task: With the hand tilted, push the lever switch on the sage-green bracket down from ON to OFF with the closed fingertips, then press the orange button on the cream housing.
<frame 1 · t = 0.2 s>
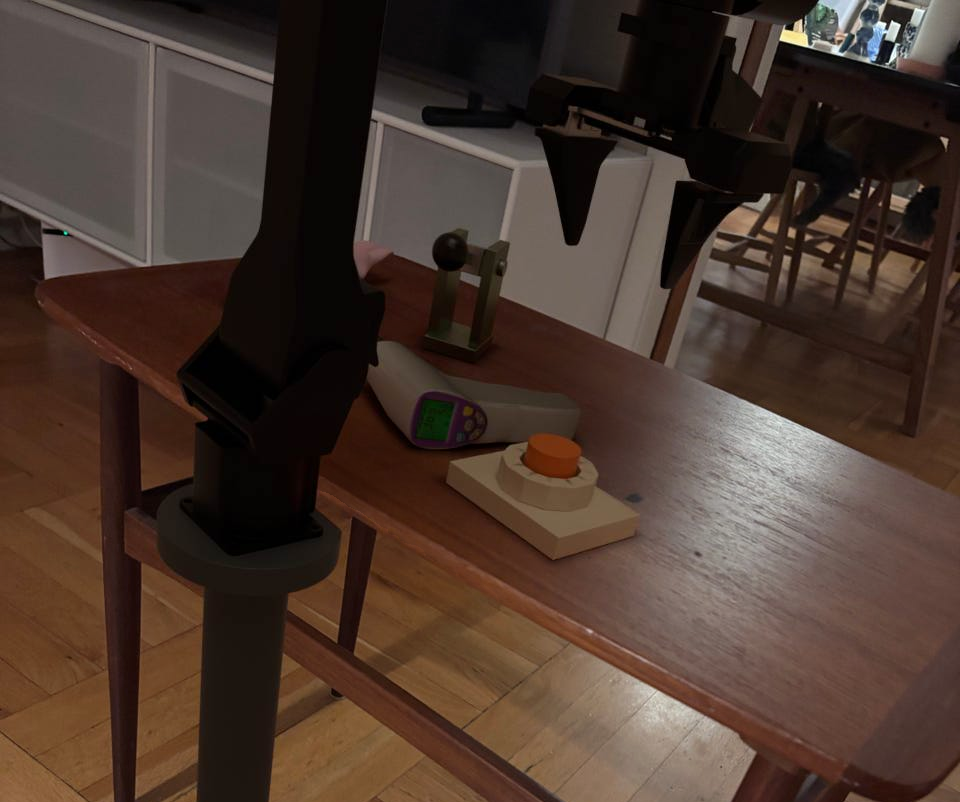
hand: (617, 265, 69), 14 cm above the table, tool pointing down, fingers open, 9 cm apart
switch lever: (462, 256, 83), point 9 cm above the table, hinge at 15.0°
smartphone: (308, 328, 88), on the table
infrared thermometer: (464, 419, 79), on the table
button: (552, 457, 65), point 4 cm above the table, slide at 0.1 cm
switch bracket: (457, 347, 92), on the table
button box: (538, 509, 68), on the table
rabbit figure: (337, 287, 100), on the table
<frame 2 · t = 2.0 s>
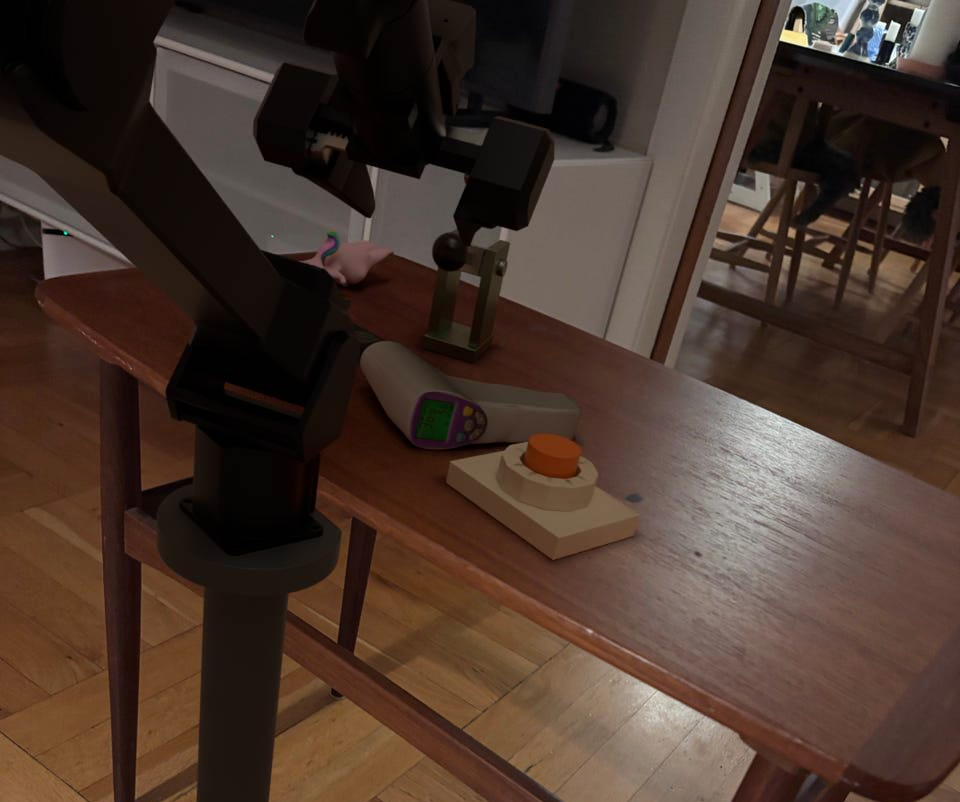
hand: (420, 226, 70), 14 cm above the table, tool tilted 45°, fingers open, 7 cm apart
nothing on the table moved.
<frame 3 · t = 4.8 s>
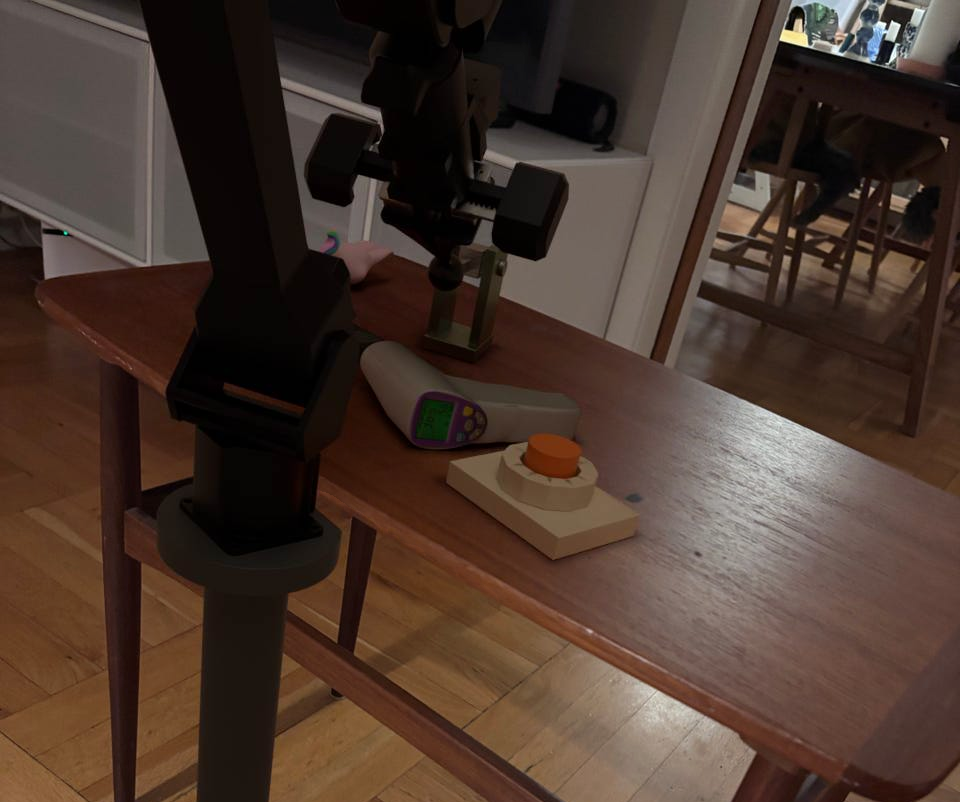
hand: (446, 256, 79), 10 cm above the table, tool tilted 45°, fingers closed, pressing on switch lever
switch lever: (460, 265, 84), point 8 cm above the table, hinge at 3.5°, touching gripper
everything else where it was.
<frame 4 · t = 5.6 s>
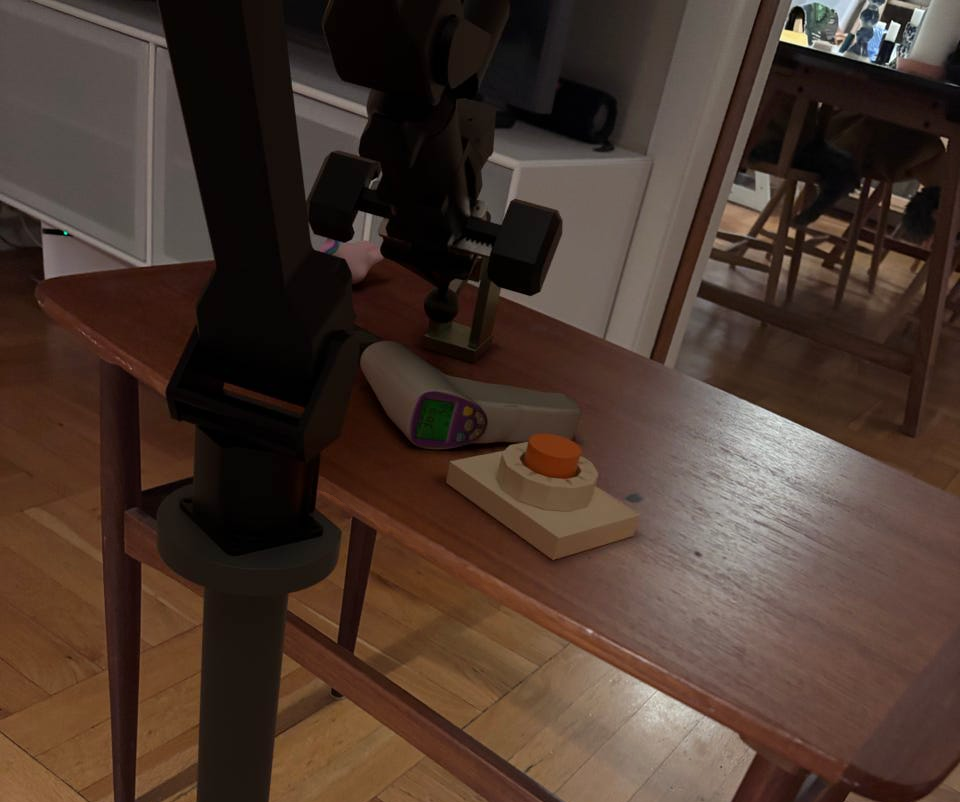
hand: (445, 284, 81), 7 cm above the table, tool tilted 45°, fingers closed, pressing on switch lever
switch lever: (457, 282, 85), point 7 cm above the table, hinge at -16.8°, touching gripper
everything else where it was.
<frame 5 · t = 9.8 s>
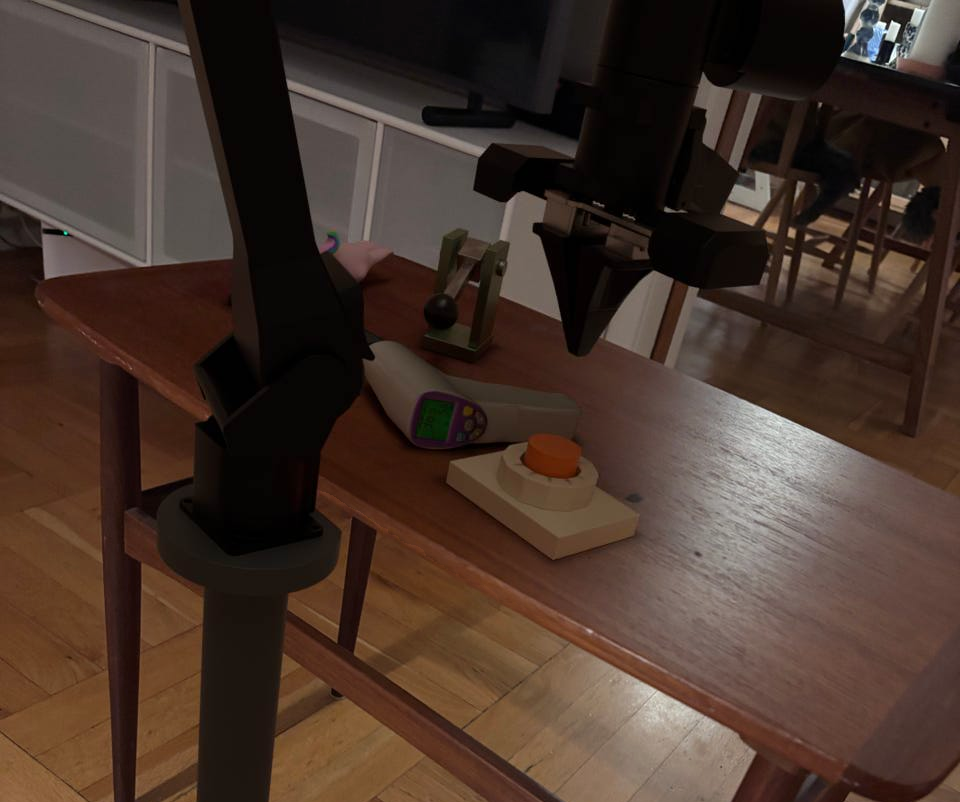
hand: (577, 354, 62), 11 cm above the table, tool pointing down, fingers closed
switch lever: (457, 285, 85), point 7 cm above the table, hinge at -21.4°
everything else where it was.
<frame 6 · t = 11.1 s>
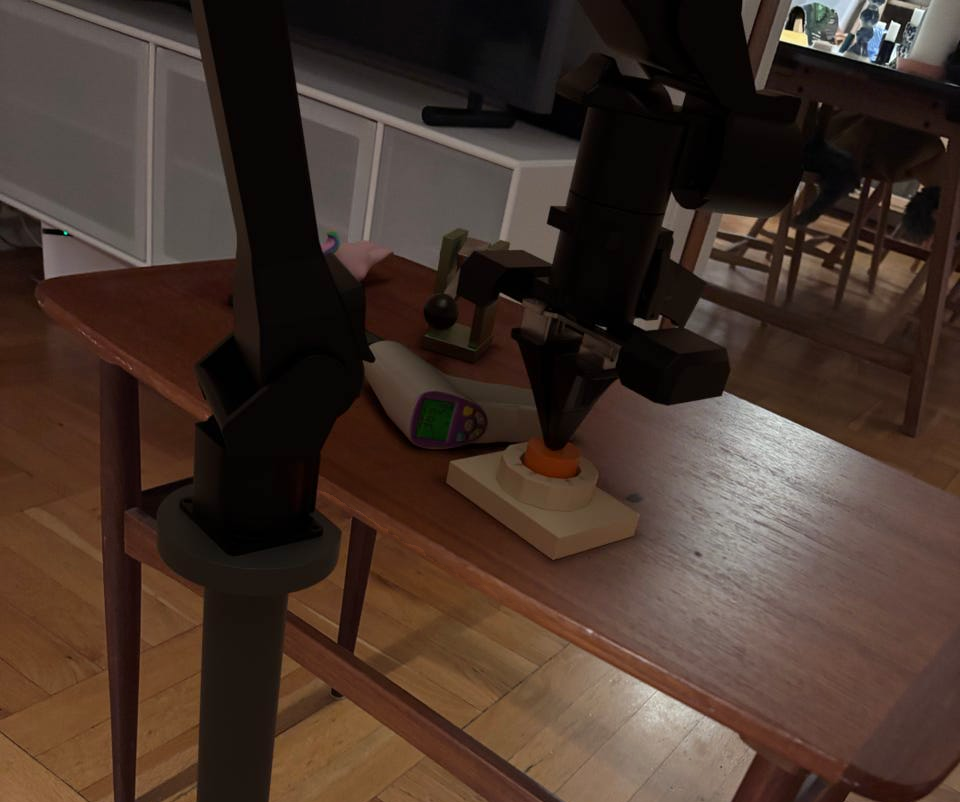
hand: (554, 447, 65), 5 cm above the table, tool pointing down, fingers closed, pressing on button
button: (551, 459, 66), point 4 cm above the table, slide at -0.1 cm, touching gripper
everything else where it was.
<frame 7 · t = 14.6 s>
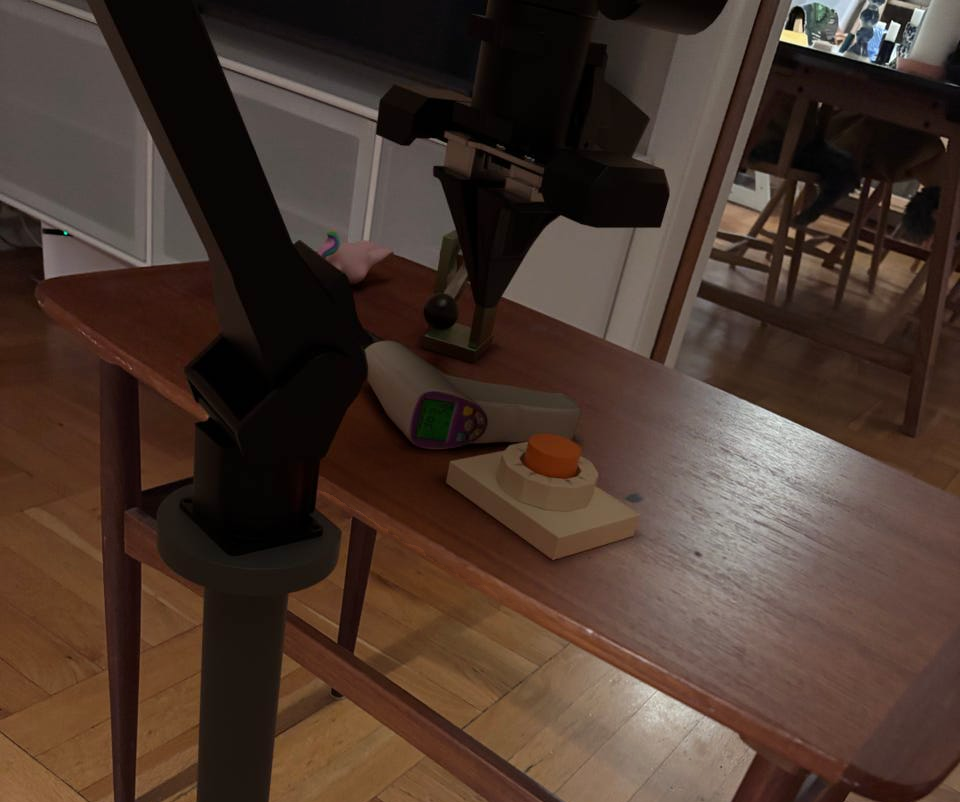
hand: (485, 306, 59), 13 cm above the table, tool pointing down, fingers closed
button: (552, 457, 65), point 4 cm above the table, slide at 0.1 cm
everything else where it was.
at the end: switch lever at -21° (first picture: +15°); button pushed in 1.1 cm at the most during the clip, back to where it started at the end; button slide at 0.1 cm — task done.
